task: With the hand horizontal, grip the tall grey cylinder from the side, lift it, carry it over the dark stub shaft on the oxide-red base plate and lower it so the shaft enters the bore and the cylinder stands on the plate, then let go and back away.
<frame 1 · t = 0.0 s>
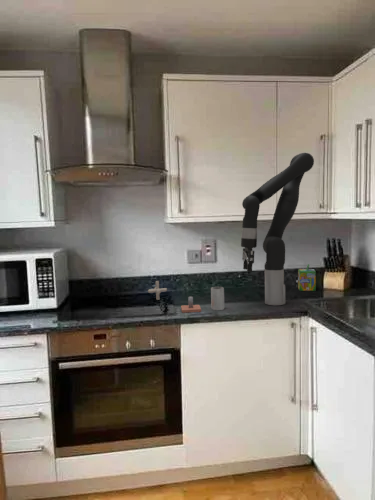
hand: (247, 270, 183), 17 cm above the countertop, tool pointing down, fingers open, 8 cm apart
pipe connector: (157, 299, 203), on the countertop
shaft block: (190, 309, 179), on the countertop
chalk box: (306, 289, 216), on the countertop
grey cylinder: (217, 308, 180), on the countertop
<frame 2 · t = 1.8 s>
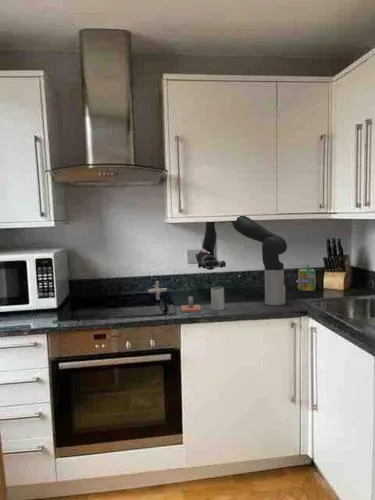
hand: (213, 266, 189), 19 cm above the countertop, tool horizontal, fingers open, 8 cm apart
nothing on the countertop moved.
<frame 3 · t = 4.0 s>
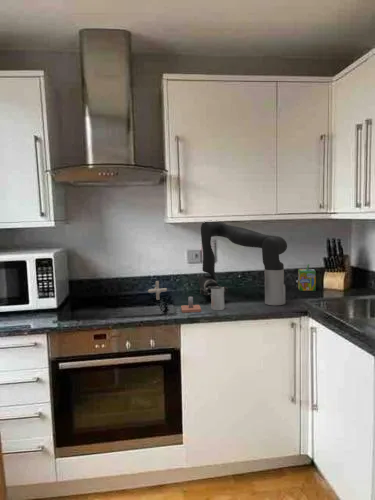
hand: (215, 293, 185), 6 cm above the countertop, tool horizontal, fingers open, 8 cm apart
nothing on the countertop moved.
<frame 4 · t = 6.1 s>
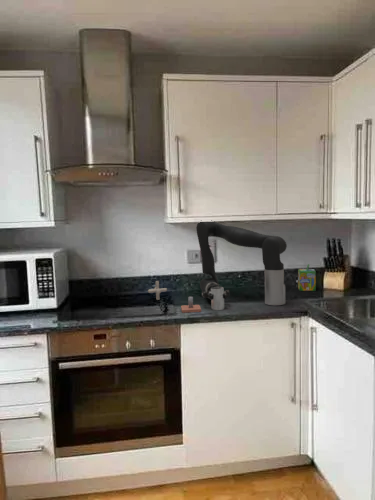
hand: (218, 297, 177), 6 cm above the countertop, tool horizontal, fingers closed on grey cylinder, 6 cm apart
grey cylinder: (217, 308, 180), on the countertop, touching gripper
everything else where it was.
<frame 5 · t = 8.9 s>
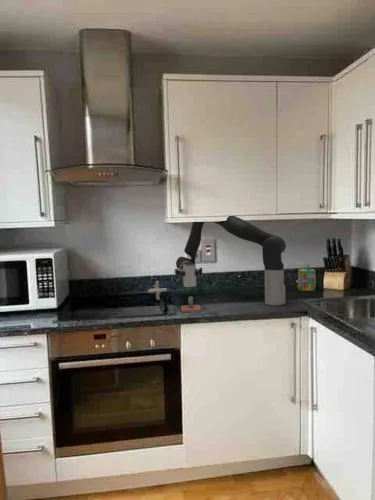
hand: (190, 274, 175), 18 cm above the countertop, tool horizontal, fingers closed on grey cylinder, 6 cm apart
grey cylinder: (190, 285, 178), point 12 cm above the countertop, touching gripper
everything else where it was.
when the fingers open (8 cm above the countertop, at t = 11.6 s): grey cylinder drops 1 cm, resting on shaft block.
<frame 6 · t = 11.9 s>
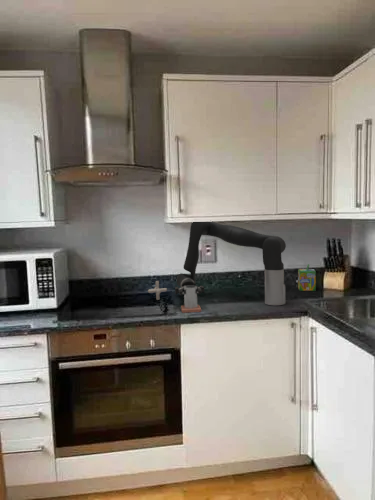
hand: (190, 292, 176), 9 cm above the countertop, tool horizontal, fingers open, 8 cm apart
grey cylinder: (190, 307, 179), point 1 cm above the countertop, touching shaft block
everything else where it was.
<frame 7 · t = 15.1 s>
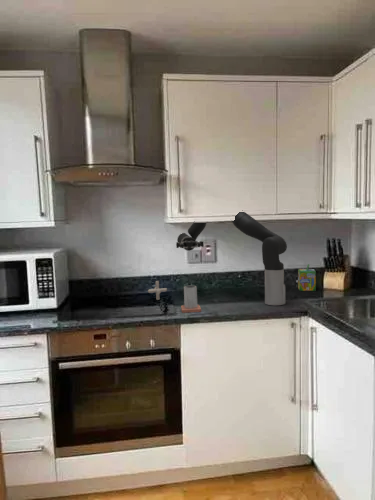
hand: (190, 245, 190), 30 cm above the countertop, tool horizontal, fingers open, 8 cm apart
nothing on the countertop moved.
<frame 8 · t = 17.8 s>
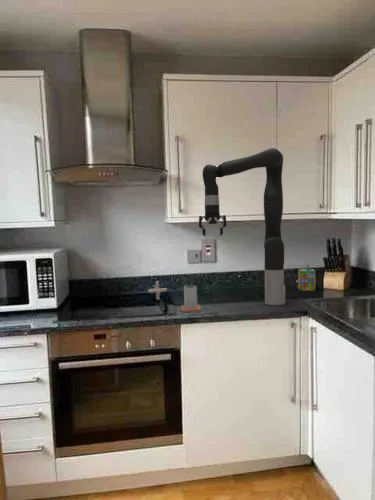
hand: (212, 235, 194), 34 cm above the countertop, tool pointing down, fingers open, 8 cm apart
nothing on the countertop moved.
at the end: grey cylinder 0.1 cm off-centre on the shaft block, point 1.2 cm above the shaft block's base; grey cylinder tilted 0°; the gripper is holding nothing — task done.
